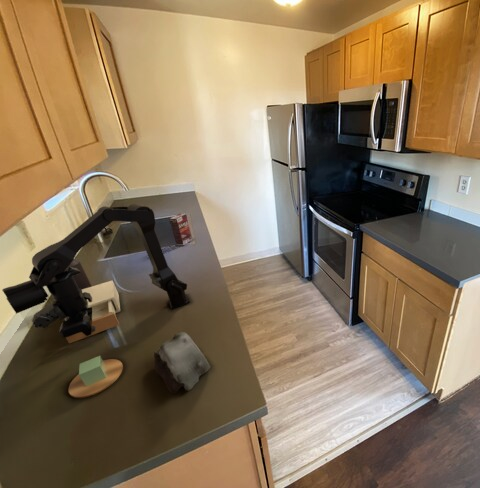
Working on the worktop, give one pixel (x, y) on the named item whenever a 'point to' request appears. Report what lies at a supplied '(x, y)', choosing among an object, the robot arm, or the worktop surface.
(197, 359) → the rock
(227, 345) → the worktop surface
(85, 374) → the block
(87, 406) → the worktop surface
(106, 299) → the cabinet
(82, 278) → the bottle
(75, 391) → the trivet
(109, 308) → the drawer
